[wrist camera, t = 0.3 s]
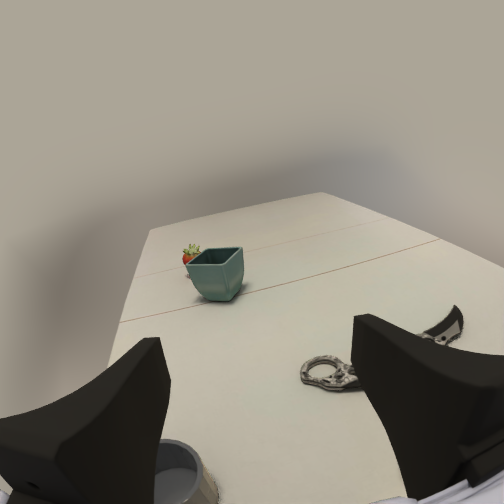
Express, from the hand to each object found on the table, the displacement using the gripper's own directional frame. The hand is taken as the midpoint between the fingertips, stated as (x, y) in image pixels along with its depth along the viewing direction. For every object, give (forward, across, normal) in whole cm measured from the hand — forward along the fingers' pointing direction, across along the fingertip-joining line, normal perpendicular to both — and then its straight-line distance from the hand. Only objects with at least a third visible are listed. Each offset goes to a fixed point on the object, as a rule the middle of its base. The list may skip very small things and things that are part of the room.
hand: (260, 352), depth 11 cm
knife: (+22, -20, +19) cm, 36 cm away
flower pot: (+51, +4, +20) cm, 55 cm away
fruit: (+65, +11, +20) cm, 69 cm away
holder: (+7, +9, +23) cm, 25 cm away
